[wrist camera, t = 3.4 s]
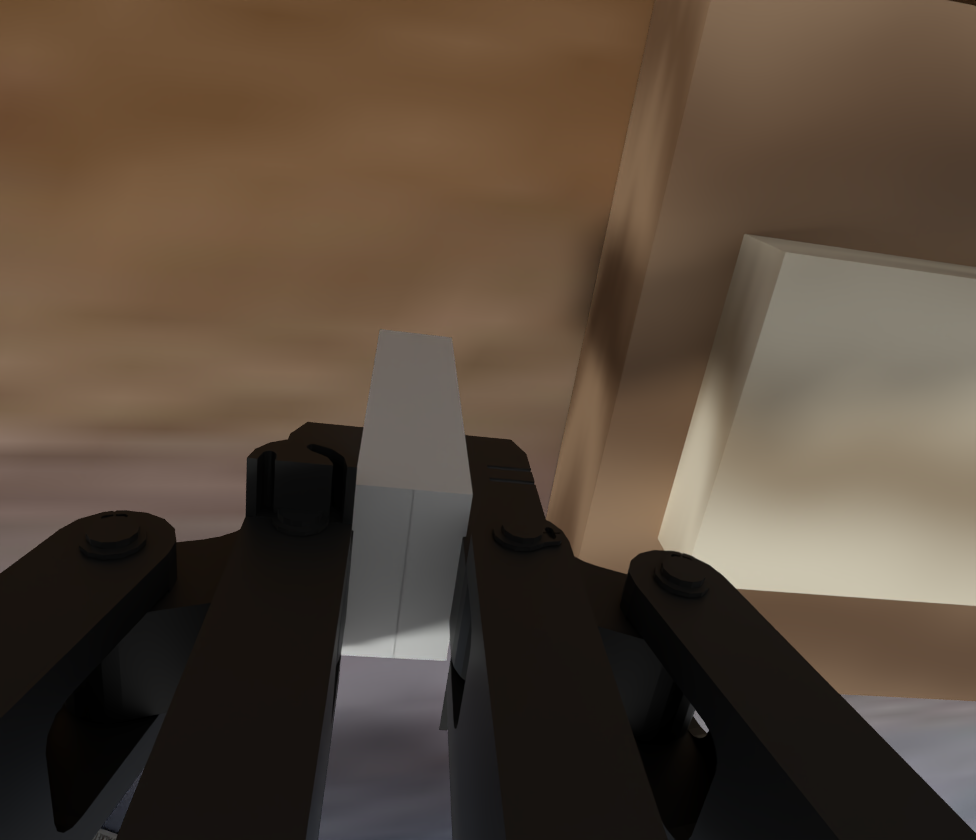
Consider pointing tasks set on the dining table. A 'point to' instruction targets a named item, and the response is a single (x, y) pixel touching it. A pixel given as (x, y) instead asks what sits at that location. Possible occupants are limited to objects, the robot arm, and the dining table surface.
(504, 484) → the robot arm
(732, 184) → the walnut board
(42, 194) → the dining table surface
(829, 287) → the birch tile
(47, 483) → the dining table surface
